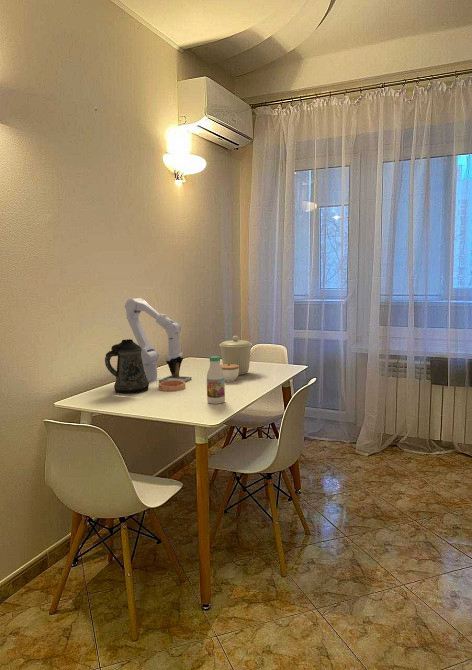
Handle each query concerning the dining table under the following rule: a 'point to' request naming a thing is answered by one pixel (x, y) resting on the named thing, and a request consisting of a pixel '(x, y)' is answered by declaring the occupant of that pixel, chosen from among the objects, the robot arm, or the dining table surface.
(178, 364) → the walnut peg
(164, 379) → the slate tray
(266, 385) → the dining table surface
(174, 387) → the terracotta bowl
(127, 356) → the beer stein
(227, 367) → the lidded jar
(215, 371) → the milk bottle
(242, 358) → the canister
